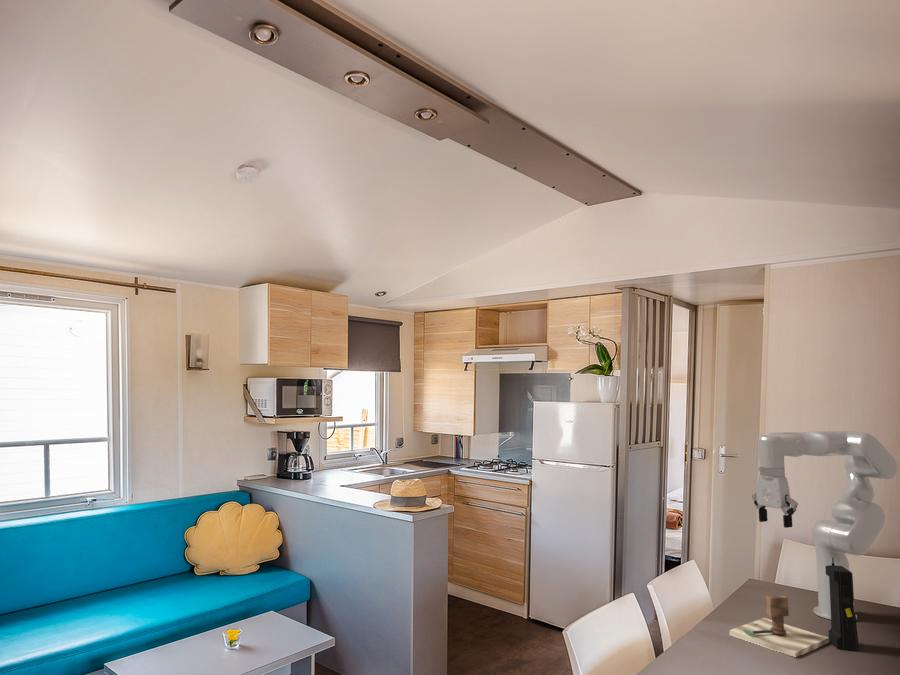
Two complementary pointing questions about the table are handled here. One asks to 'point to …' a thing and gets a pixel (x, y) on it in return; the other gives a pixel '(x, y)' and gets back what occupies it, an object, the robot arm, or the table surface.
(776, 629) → the tuning peg
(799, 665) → the table surface
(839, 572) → the portable radio
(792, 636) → the dial board
